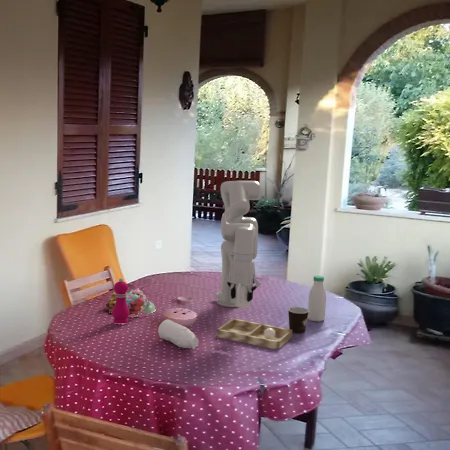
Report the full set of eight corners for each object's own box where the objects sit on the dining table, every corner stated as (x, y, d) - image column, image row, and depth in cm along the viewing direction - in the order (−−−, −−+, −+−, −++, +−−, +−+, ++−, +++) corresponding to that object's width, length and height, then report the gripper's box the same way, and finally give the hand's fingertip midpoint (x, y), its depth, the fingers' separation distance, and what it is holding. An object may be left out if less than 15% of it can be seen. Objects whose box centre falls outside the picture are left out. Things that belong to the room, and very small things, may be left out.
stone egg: (261, 340, 238) (262, 329, 237) (265, 336, 243) (266, 325, 242) (272, 342, 236) (273, 331, 235) (276, 338, 241) (277, 327, 240)
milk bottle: (324, 322, 265) (327, 279, 261) (306, 320, 266) (309, 278, 263) (324, 317, 272) (327, 275, 268) (308, 315, 274) (310, 273, 270)
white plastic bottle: (186, 355, 223) (187, 335, 221) (157, 340, 237) (157, 321, 235) (202, 350, 228) (203, 331, 227) (173, 336, 242) (173, 317, 240)
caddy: (216, 338, 241) (216, 329, 240) (232, 326, 255) (233, 318, 254) (278, 351, 230) (279, 342, 229) (292, 338, 244) (292, 329, 243)
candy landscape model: (95, 312, 267) (95, 293, 265) (121, 299, 289) (122, 280, 287) (144, 321, 259) (144, 301, 257) (168, 306, 280) (168, 287, 279)
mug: (238, 302, 248) (239, 274, 246) (253, 304, 246) (254, 276, 244) (229, 308, 239) (230, 280, 237) (244, 311, 237) (246, 282, 235)
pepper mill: (132, 322, 256) (133, 277, 253) (122, 327, 250) (123, 281, 246) (118, 319, 259) (118, 275, 256) (108, 324, 253) (108, 278, 249)
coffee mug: (294, 337, 245) (295, 314, 243) (283, 330, 253) (284, 308, 251) (317, 333, 251) (318, 311, 249) (305, 327, 258) (306, 305, 256)
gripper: (220, 256, 239) (218, 298, 242) (259, 261, 232) (257, 305, 235) (227, 252, 246) (226, 293, 249) (266, 258, 239) (264, 300, 242)
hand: (241, 299), depth 242 cm, fingers closed on mug, 6 cm apart
